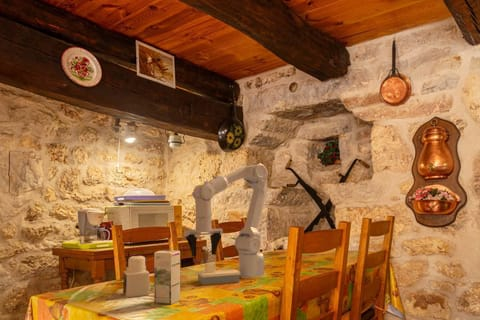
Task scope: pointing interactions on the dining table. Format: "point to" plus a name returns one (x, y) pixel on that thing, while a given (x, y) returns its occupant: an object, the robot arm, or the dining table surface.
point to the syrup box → (166, 277)
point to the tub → (218, 279)
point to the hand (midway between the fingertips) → (203, 255)
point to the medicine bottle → (136, 277)
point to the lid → (216, 271)
